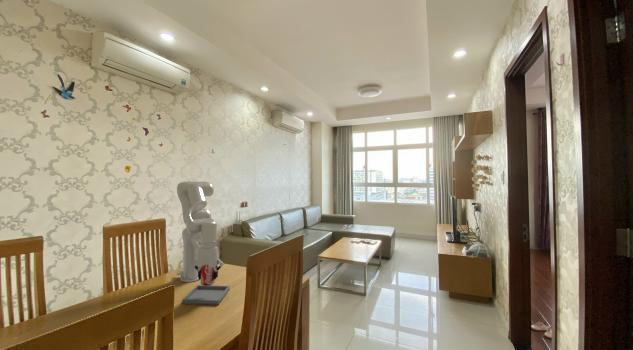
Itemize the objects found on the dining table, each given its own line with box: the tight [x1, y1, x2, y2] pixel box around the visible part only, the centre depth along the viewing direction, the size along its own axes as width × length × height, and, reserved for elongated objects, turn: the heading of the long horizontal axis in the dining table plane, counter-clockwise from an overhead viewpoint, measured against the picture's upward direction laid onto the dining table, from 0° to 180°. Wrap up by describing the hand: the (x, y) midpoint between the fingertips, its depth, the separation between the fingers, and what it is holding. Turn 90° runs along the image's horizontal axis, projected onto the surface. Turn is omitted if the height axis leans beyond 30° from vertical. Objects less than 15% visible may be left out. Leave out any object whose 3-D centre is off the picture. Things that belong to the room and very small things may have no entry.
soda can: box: [200, 263, 216, 286], centre depth 131 cm, size 7×7×12 cm
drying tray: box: [181, 284, 231, 306], centre depth 132 cm, size 18×16×2 cm
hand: (207, 278), depth 131 cm, fingers closed on soda can, 7 cm apart
